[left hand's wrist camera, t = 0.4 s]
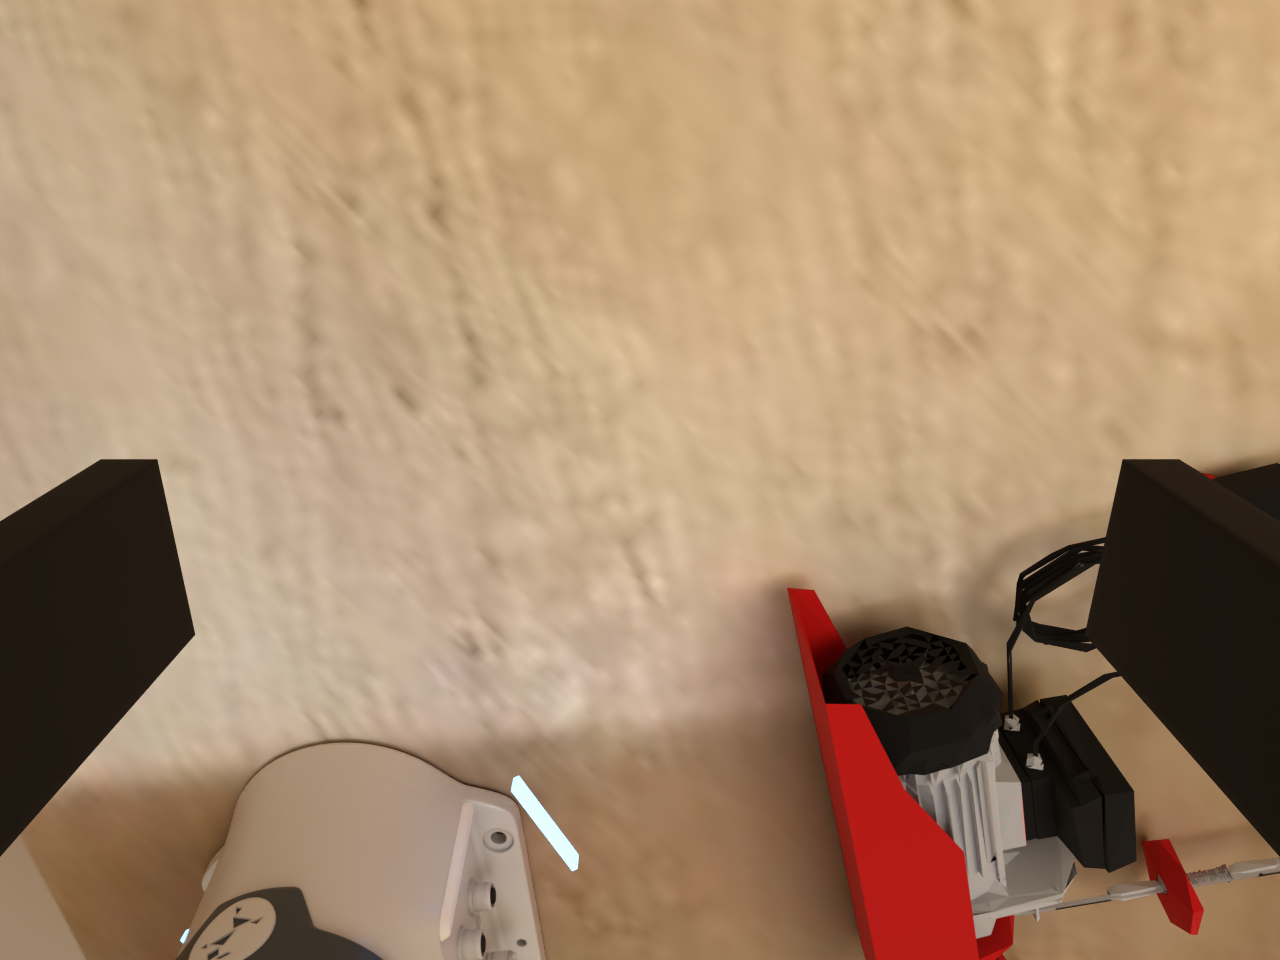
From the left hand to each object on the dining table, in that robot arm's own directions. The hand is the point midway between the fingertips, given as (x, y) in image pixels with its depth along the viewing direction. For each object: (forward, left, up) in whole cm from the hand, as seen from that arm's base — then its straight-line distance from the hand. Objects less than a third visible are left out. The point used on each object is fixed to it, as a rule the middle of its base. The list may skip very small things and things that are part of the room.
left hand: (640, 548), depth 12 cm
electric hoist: (+24, +25, -28) cm, 44 cm away
